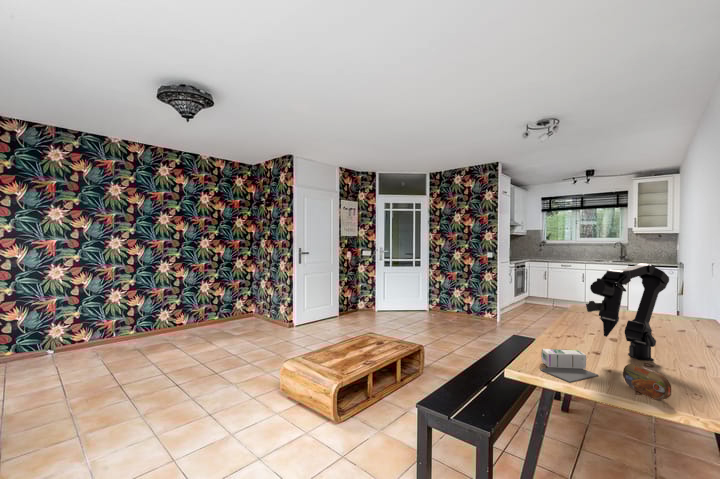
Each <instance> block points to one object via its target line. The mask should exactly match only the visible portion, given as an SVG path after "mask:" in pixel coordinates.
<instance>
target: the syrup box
mask: <svg viewBox="0 0 720 479" xmlns="http://www.w3.org/2000/svg"><path fill="white" fill-rule="evenodd" d="M541 362H542V363H543V364H544V365H545V366H546V368H548V367H554V368H576V369H585V370H586V368H587V354H586V353H584V352H582V351H581V350H578V349H564V348H563V349H561V348H541Z"/></svg>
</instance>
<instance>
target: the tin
mask: <svg viewBox="0 0 720 479" xmlns="http://www.w3.org/2000/svg"><path fill="white" fill-rule="evenodd" d="M622 376H623V379H624V380H623V381H625V383H626V385H627V386H628V387H629V388H631V389H633V390H635V391H636V392H639V393H640V394H643V395H644V396H647V397H649V398H650V399H652V398H653V399H652V400H656V401H659V400H660V401H661V400H667V399H669V398H671V396H672V385H671V382H670V380H669V379H668V377H666V375H664V374H662V373H660V372H658V371H655V370H652V369H650V368H647V367H644V366H642V365H640V364H633V363H629V364H626V365H625V366H624V368H623V371H622Z"/></svg>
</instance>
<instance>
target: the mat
mask: <svg viewBox="0 0 720 479" xmlns="http://www.w3.org/2000/svg"><path fill="white" fill-rule="evenodd" d="M539 370H540V371H541V372H544V373H546V374H549V375H551V376H553V377H555V378H557V379H560V380H563V381H565V382H567V383H574V382H579V381H582V380H588V379H591V378H596V377H599V376H600V374H599V373H595V372H593V371H590V370H586V369H576V368H554V367H543V368H540V369H539Z"/></svg>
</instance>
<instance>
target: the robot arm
mask: <svg viewBox="0 0 720 479" xmlns="http://www.w3.org/2000/svg"><path fill="white" fill-rule="evenodd" d="M638 277H639V278H640V279H641V284H642V287H643V292H642V296H641V298H640V301H639V304H638V306H637V307H638V308H637V310H636V314H635V316H634V318H633V319H632V320H629V319H628V321H627V322H626V325H625V327H624V335H625V339H626V342H629V343H630V345H629V348H628V349H629V351H628V353H627V355H628V356H630V357H632V358H633V359H635V360H640V361H655V359H654V358H652V348H654V347H655V346H656V344H657V340H656V339H655V337H654V336H653V335H652V332H653V330H652V327H651V326H650V321H651V319H652V315H653V312H654V308H655V306H656V304H657V300H658V296H659V294H660V293H661V292H662V291H664V290H665V289H666V288H667V285H669V283H670V277H669V276H668V275H667V273H666V272H665V271H664V270H662V269H659V268H658V267H655V265H654V264H651V263H637V264H636V265H633V266H629V267H626V268H623V269H607V271H606V272H605V273H604V274H603V275H602V277H600V278H596V280H595V281H593V282H592V283H591V284H590V286H589V289H590V291H591V293H593V294H595V295H597V296H600V297H603V299H602V301H601V302H595V301H594V300H589V302H588V303H585V307H586V311H587V312H588V313H592V312H598V315H597V316H598V317H599V320H600V321H601V322H602V326H603V328H602V329H603V336H604V337H606V338H607V337H608V336H609V335H610V334H611V333H612V331H613V330H614V328H615V327H616V326H617V324H618V323H619V322H620V316H619V315H620V308H621V306H622V305H621V304H622V303H621V302H622V299H623V294H624V292H627V289H626V288H625V287H624V285H627V284H629V283H630V282H632V281H631V279H634V278H638Z"/></svg>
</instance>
